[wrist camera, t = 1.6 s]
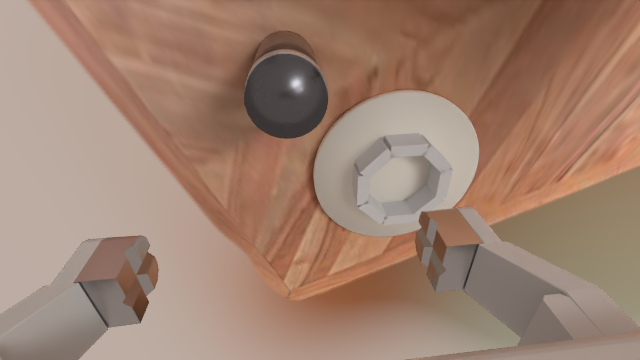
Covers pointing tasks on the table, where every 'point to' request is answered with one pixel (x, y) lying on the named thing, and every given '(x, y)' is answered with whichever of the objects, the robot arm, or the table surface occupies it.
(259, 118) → the lens
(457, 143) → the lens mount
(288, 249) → the table surface
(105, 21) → the table surface
